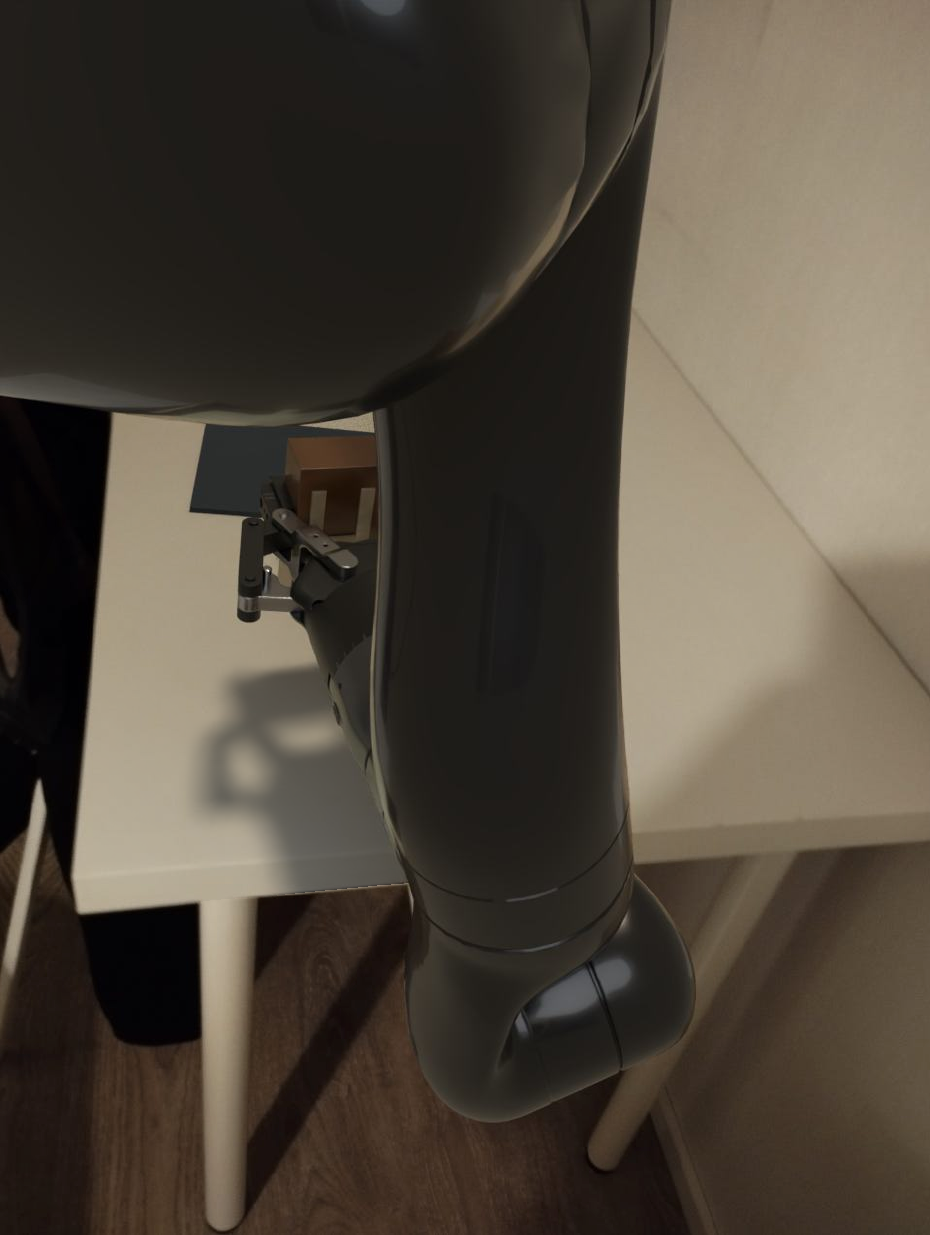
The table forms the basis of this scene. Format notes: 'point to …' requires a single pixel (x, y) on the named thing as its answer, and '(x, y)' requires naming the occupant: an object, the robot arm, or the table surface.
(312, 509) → the tile
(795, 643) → the table surface
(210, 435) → the word mat
